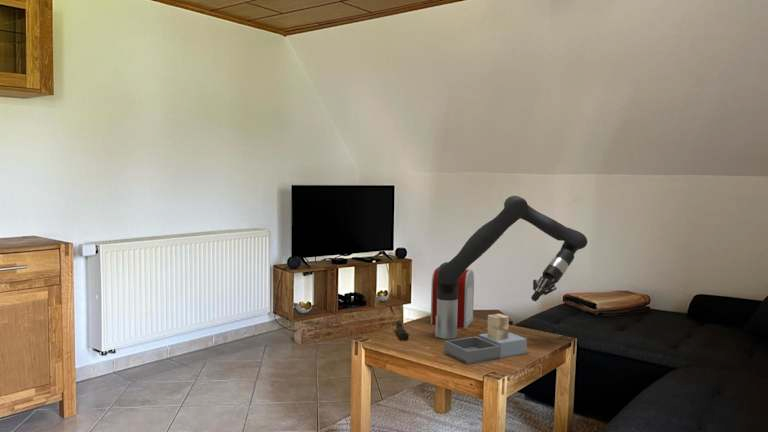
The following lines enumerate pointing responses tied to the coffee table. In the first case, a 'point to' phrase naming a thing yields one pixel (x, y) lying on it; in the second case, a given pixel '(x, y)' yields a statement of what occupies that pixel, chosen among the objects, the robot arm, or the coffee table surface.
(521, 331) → the coffee table surface
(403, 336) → the hand tool
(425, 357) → the coffee table surface
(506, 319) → the block
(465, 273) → the red rounded-top case
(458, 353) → the bin
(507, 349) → the platform
